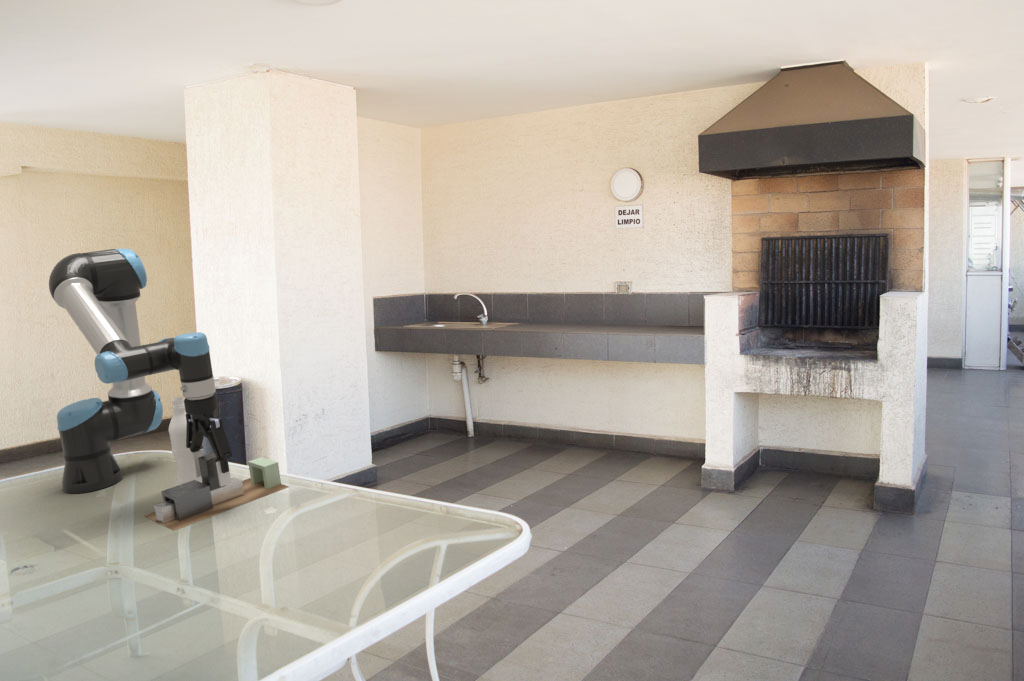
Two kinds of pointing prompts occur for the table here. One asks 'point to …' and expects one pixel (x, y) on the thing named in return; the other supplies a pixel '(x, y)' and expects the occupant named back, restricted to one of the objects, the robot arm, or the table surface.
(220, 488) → the rod
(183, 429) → the water bottle
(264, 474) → the socket block
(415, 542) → the table surface
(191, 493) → the sleeve
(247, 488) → the base board
